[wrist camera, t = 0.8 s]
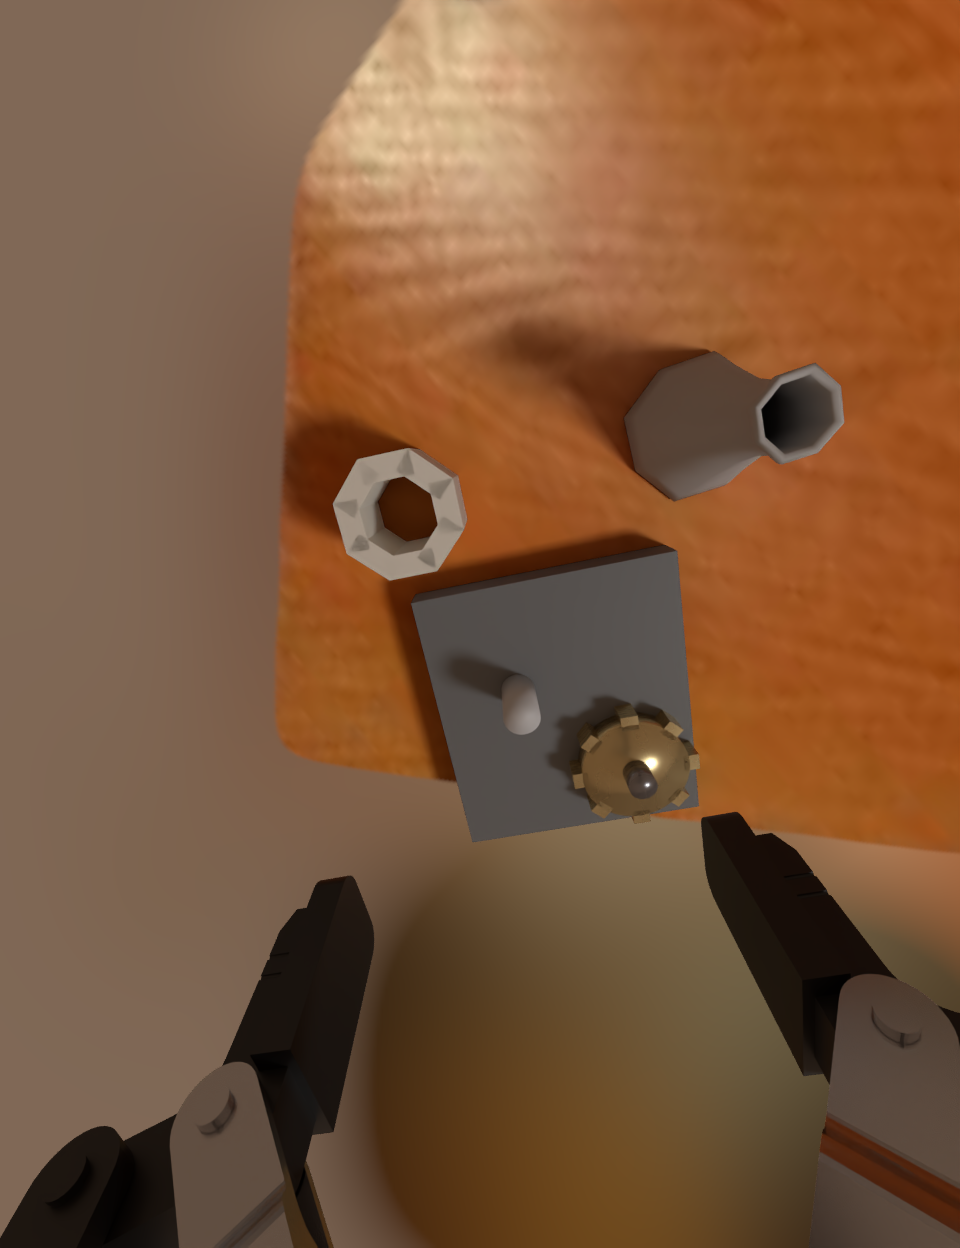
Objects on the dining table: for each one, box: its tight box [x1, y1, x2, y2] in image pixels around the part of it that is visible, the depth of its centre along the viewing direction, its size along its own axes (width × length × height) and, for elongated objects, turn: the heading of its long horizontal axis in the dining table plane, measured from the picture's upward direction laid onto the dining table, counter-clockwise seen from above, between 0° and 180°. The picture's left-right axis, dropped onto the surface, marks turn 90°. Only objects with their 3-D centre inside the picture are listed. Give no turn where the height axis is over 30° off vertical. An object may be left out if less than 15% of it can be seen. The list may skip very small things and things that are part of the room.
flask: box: [624, 351, 844, 501], centre depth 23 cm, size 7×7×10 cm
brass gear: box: [569, 704, 700, 824], centre depth 30 cm, size 8×8×3 cm
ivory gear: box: [333, 448, 467, 580], centre depth 27 cm, size 6×6×4 cm
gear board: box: [411, 545, 699, 842], centre depth 30 cm, size 17×15×6 cm
